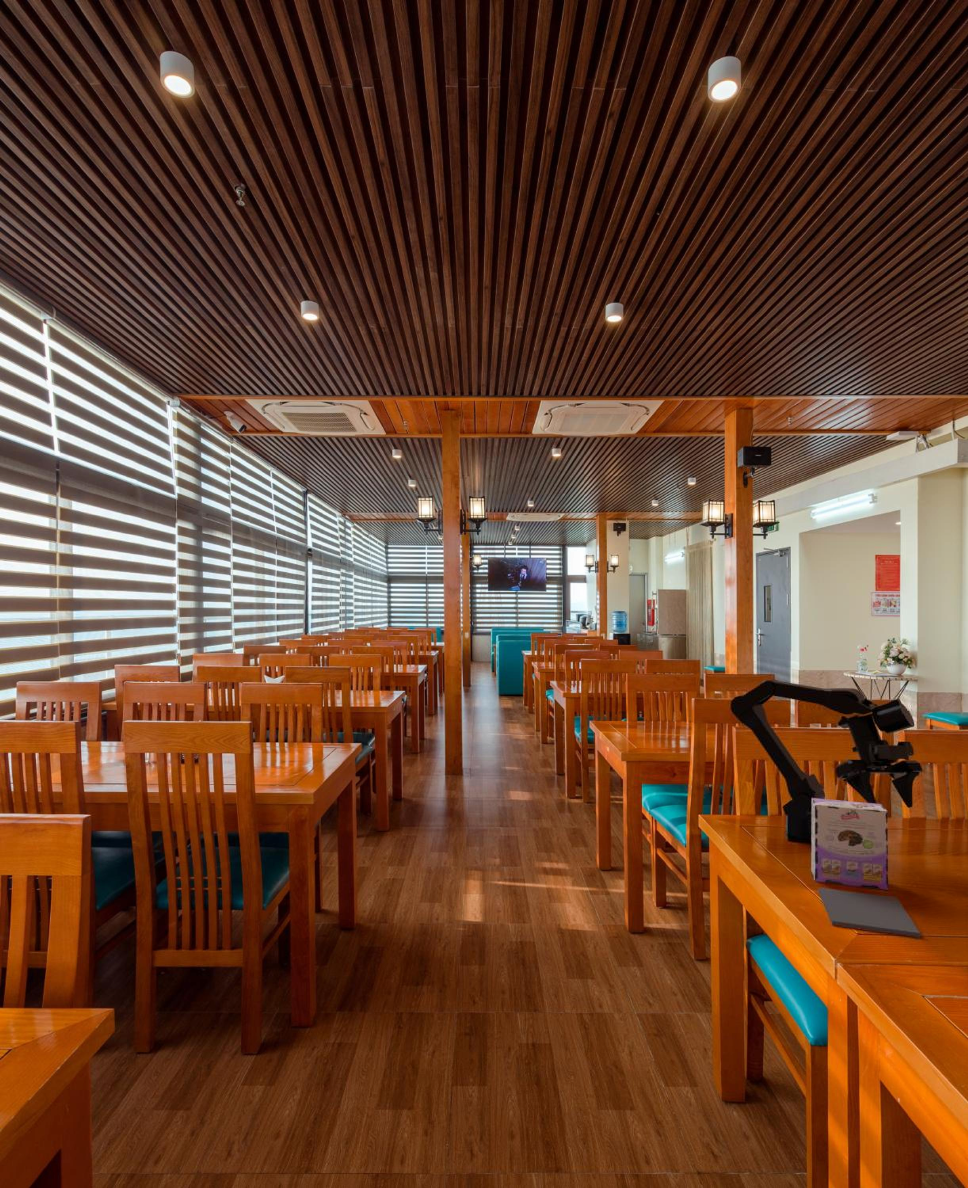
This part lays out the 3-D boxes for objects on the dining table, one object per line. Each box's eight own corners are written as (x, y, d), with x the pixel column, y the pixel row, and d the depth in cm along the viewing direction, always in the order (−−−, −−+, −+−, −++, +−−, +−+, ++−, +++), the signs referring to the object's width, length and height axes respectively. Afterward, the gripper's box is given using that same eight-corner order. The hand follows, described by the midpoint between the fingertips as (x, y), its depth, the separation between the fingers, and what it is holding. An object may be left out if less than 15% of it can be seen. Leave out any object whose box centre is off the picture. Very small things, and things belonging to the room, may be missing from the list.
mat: (832, 925, 122) (832, 920, 123) (818, 891, 137) (818, 887, 137) (920, 937, 118) (920, 933, 118) (896, 901, 133) (896, 897, 133)
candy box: (882, 880, 143) (882, 802, 143) (888, 891, 137) (889, 811, 137) (810, 871, 147) (810, 796, 147) (814, 881, 142) (814, 803, 142)
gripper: (855, 726, 149) (881, 796, 140) (926, 728, 152) (956, 797, 144) (824, 744, 158) (847, 811, 149) (891, 745, 162) (918, 811, 153)
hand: (892, 807), depth 149 cm, fingers open, 9 cm apart
